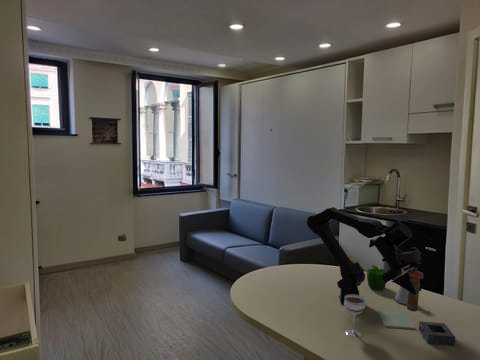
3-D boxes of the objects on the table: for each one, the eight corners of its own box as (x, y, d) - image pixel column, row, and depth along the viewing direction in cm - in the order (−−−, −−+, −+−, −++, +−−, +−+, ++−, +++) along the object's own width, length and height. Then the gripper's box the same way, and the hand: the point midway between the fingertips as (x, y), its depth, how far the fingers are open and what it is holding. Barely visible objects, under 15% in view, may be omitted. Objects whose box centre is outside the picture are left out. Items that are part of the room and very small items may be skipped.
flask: (416, 306, 139) (418, 281, 137) (396, 304, 140) (397, 279, 139) (411, 297, 146) (412, 274, 145) (392, 296, 147) (393, 272, 146)
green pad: (384, 326, 124) (384, 325, 124) (377, 312, 133) (378, 311, 133) (415, 329, 122) (415, 327, 122) (406, 314, 132) (406, 313, 132)
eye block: (427, 343, 114) (428, 334, 114) (418, 329, 122) (419, 321, 122) (454, 345, 113) (455, 336, 113) (443, 331, 121) (444, 323, 121)
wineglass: (347, 325, 125) (348, 292, 123) (366, 332, 120) (368, 298, 119) (339, 333, 119) (340, 299, 118) (359, 341, 115) (361, 305, 114)
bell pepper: (388, 286, 156) (390, 264, 155) (384, 293, 149) (386, 270, 148) (368, 282, 161) (369, 260, 159) (364, 288, 154) (365, 266, 152)
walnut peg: (406, 311, 121) (410, 275, 119) (402, 305, 126) (405, 269, 124) (421, 313, 120) (425, 276, 118) (417, 306, 125) (420, 270, 123)
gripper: (393, 246, 116) (425, 290, 110) (418, 235, 128) (448, 274, 122) (369, 262, 123) (397, 304, 117) (395, 250, 136) (422, 288, 129)
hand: (417, 292), depth 121 cm, fingers closed on walnut peg, 3 cm apart
